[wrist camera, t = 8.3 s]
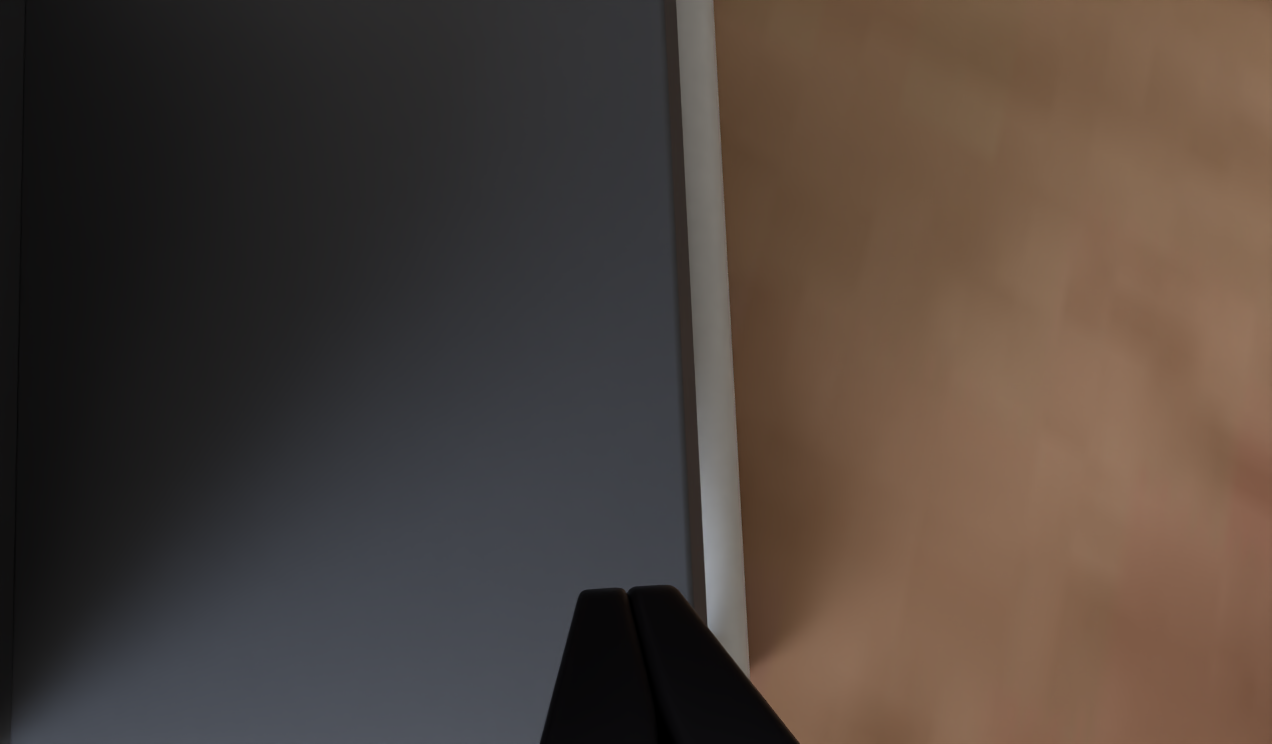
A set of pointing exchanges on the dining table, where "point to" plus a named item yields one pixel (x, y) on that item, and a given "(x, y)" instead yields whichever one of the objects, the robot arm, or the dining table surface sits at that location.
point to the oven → (9, 321)
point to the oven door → (361, 361)
